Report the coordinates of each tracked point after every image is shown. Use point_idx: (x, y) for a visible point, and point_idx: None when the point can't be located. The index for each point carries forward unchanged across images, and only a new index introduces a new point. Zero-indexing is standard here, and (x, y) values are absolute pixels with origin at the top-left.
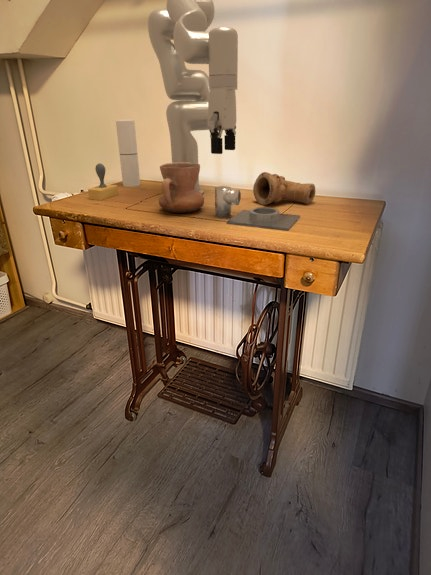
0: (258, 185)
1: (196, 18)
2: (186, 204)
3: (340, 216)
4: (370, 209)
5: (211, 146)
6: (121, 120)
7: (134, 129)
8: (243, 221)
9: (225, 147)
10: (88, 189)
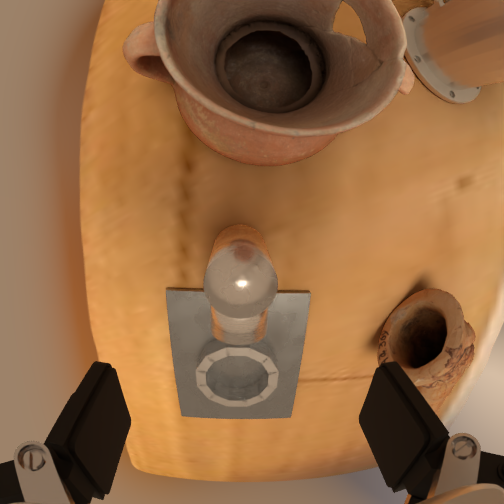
0: (443, 315)
1: None
2: (192, 130)
3: (315, 453)
4: (367, 463)
5: (78, 394)
6: None
7: None
8: (186, 331)
9: (381, 379)
10: None
